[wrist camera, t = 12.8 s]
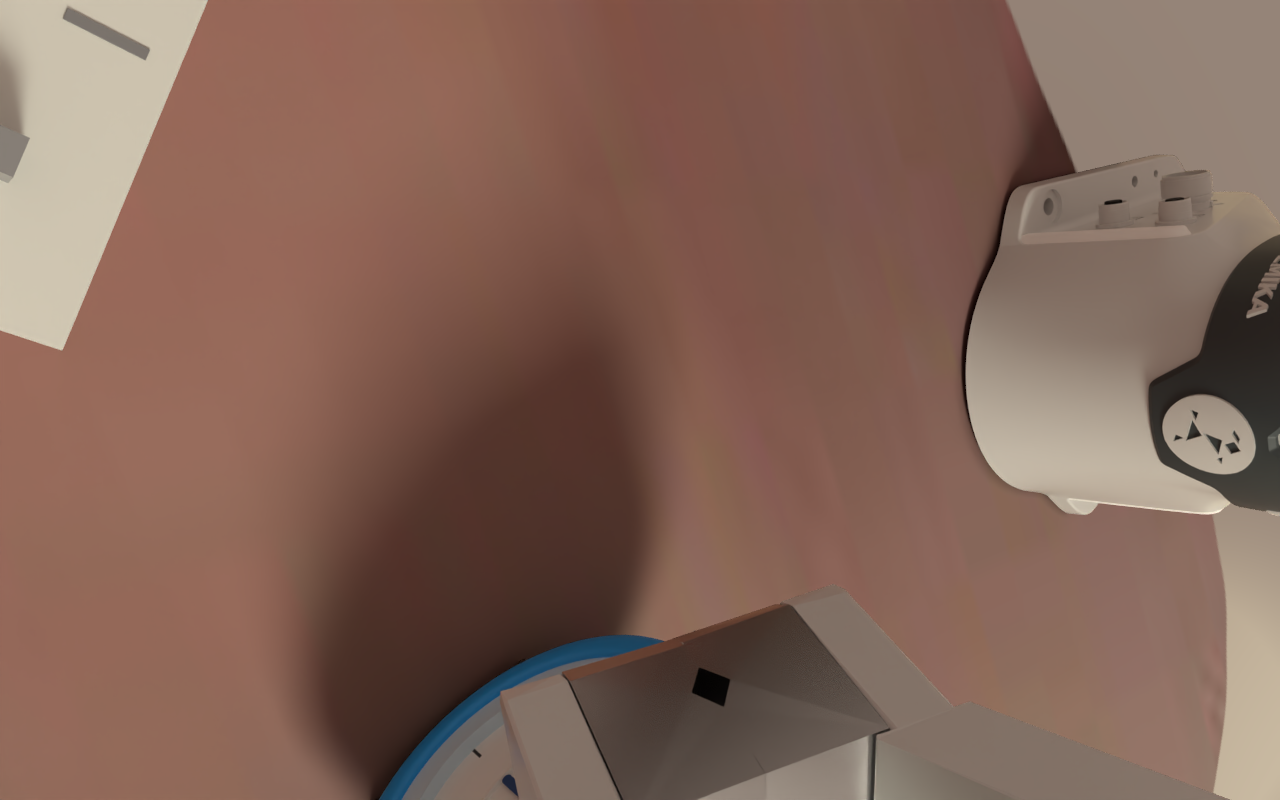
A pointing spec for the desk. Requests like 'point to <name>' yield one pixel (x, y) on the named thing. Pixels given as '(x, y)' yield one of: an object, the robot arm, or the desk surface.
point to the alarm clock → (489, 730)
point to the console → (74, 141)
